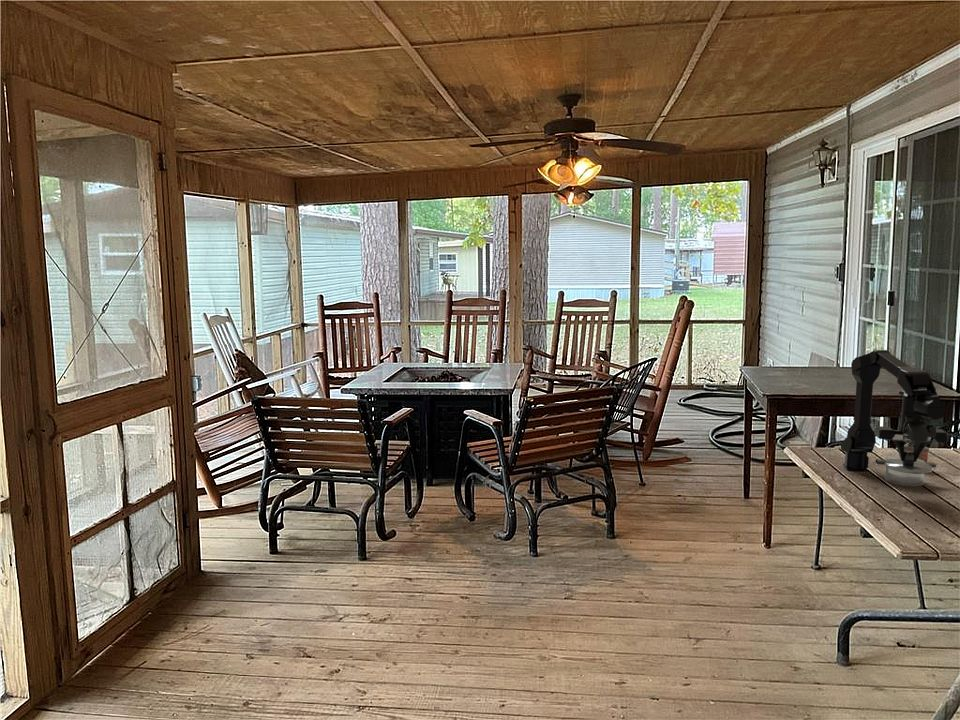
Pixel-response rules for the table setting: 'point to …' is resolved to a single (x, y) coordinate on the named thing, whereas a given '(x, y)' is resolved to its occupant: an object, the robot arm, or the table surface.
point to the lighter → (910, 447)
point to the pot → (903, 474)
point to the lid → (908, 464)
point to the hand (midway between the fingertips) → (908, 461)
